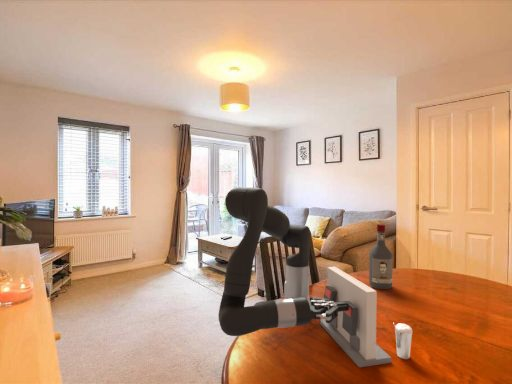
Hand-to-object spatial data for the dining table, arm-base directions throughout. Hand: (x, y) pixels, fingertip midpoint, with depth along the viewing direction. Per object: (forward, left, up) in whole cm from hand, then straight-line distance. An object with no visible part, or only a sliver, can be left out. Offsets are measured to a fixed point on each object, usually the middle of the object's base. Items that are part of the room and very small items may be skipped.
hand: (347, 305), depth 84 cm
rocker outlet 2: (0, 0, -8) cm, 8 cm away
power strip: (-3, +7, -15) cm, 17 cm away
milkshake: (+12, +10, -15) cm, 22 cm away
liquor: (-13, +64, -15) cm, 67 cm away
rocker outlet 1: (-11, +8, -8) cm, 15 cm away
